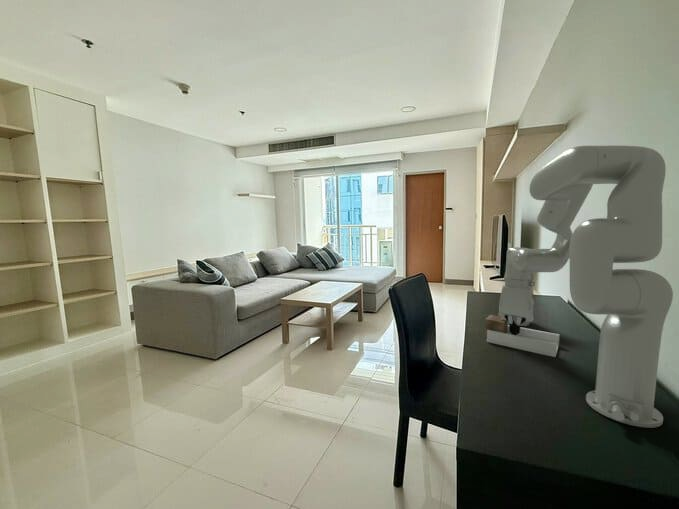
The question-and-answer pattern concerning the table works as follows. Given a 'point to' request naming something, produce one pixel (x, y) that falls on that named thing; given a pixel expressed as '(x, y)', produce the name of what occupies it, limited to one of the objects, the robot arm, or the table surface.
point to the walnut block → (496, 324)
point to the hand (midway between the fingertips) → (514, 334)
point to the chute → (527, 340)
